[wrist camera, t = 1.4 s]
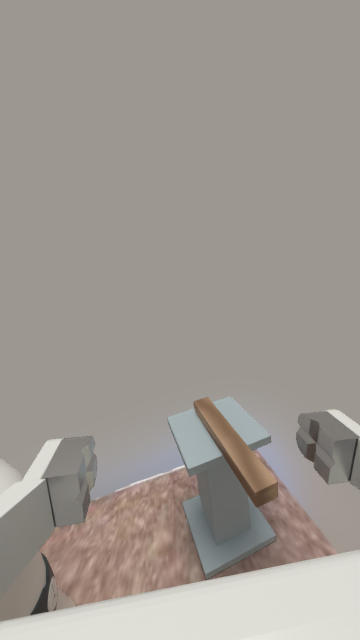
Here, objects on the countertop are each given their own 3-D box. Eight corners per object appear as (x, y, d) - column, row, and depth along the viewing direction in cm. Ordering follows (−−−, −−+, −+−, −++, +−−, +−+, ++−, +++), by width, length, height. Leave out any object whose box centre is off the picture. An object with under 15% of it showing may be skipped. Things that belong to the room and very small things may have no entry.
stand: (206, 579, 41) (188, 469, 35) (183, 506, 54) (167, 417, 48) (276, 540, 45) (270, 435, 39) (239, 481, 59) (230, 396, 53)
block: (256, 507, 28) (255, 492, 28) (194, 411, 49) (193, 401, 48) (278, 496, 29) (277, 482, 29) (208, 406, 50) (207, 396, 49)
